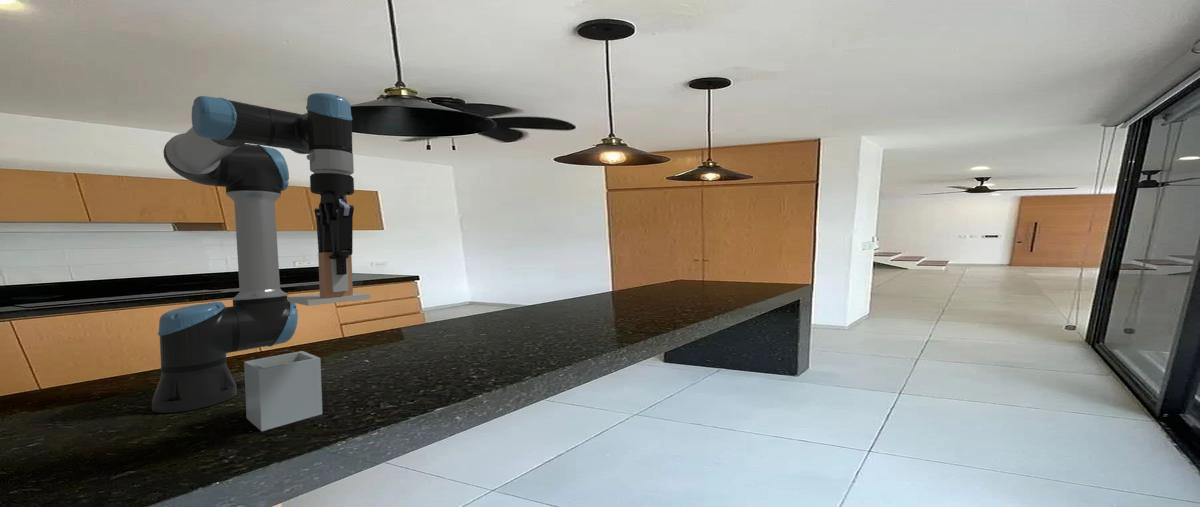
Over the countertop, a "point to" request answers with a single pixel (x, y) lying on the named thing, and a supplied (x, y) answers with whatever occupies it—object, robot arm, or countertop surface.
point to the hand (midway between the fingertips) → (336, 290)
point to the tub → (282, 389)
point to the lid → (329, 286)
